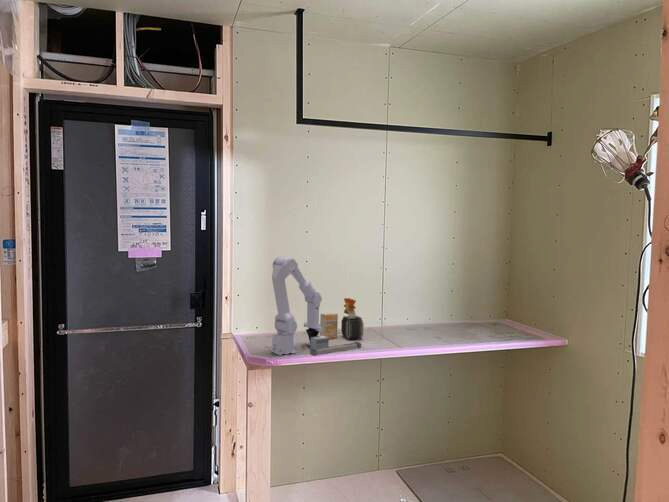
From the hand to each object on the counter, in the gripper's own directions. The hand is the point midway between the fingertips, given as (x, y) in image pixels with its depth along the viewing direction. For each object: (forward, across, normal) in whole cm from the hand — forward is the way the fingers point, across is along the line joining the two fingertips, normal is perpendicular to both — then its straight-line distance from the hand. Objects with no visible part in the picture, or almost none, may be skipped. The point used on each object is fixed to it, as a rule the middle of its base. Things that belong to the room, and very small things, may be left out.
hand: (312, 343), depth 233 cm
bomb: (+1, +5, -27) cm, 27 cm away
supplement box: (+1, +10, -16) cm, 19 cm away
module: (+1, -6, 0) cm, 6 cm away
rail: (+1, -13, -5) cm, 14 cm away
